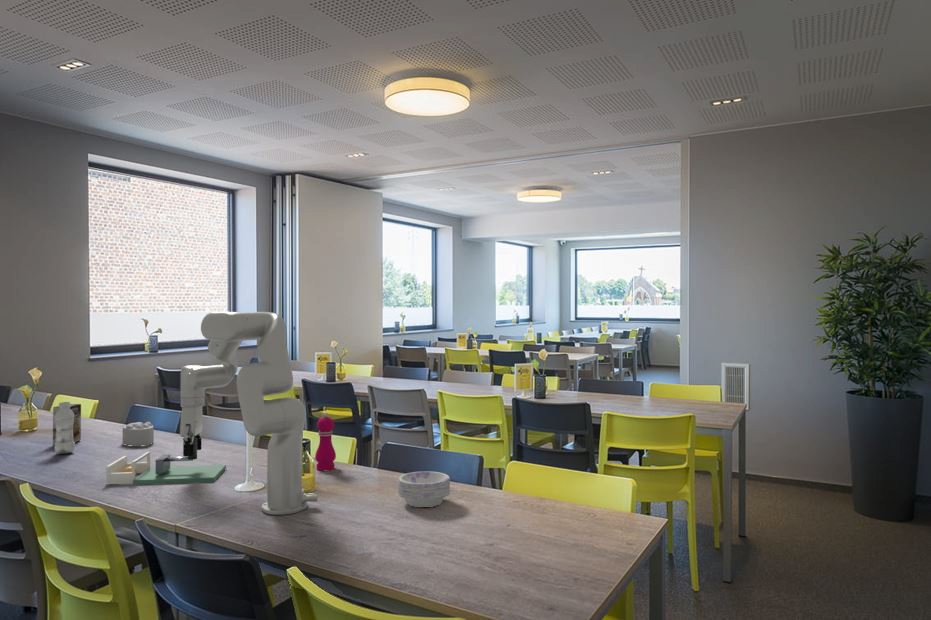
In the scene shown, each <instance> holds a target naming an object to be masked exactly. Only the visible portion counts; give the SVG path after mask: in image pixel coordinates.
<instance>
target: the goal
mask: <svg viewBox="0 0 931 620" xmlns="http://www.w3.org/2000/svg"><path fill="white" fill-rule="evenodd" d="M145 458H146V461H143V462H140V461H142V460H143V459H145ZM129 466H132V472H123V470H124V469H125V468H126V467H129ZM150 468H151V451H147V452H144V453H143V454H142V455H141V456H139V457H138V458H136V459H133V460H132V461H131V462H128V455H123V456H122V457H120V458H118V459H116V460H115V461H113V462H112V463H110V464H108V465H106V467H105V485H107V486H110V485H109V484H119V485H133V480H134V479H135V478H136V475H135V469H136V473H140V474H143V473H144V472H145V471H147V470H148V469H150Z"/></svg>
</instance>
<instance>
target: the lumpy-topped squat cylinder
mask: <svg viewBox="0 0 931 620" xmlns="http://www.w3.org/2000/svg"><path fill="white" fill-rule="evenodd" d="M154 429H155V427H154V425H153V424H152V422H151V421H146V422H145V423H143V422H142V421H137V422H131V423H128V424H127V425H125V426H123V427H122V445H123V444H126V445H132V446H141V445H148V444H151V443H153V442H154V441H155V440H154V439H155V438H154V437H155V436H154V433H155V432H154V431H155V430H154ZM154 443H155V442H154ZM154 443H153V444H154ZM141 447H142V446H141Z"/></svg>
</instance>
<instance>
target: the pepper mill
mask: <svg viewBox="0 0 931 620" xmlns="http://www.w3.org/2000/svg"><path fill="white" fill-rule="evenodd" d="M316 428H317V429H318V430H319V431H318V436H319V442H318V443H319V444H318V447H317V449H316V451H315V458H314V459H315V461H316V462H317V463H316V470H317V471H319V470H320V472H322V471H321V470H329V471H332V469H333V470H334V469H335V463H334V461H335V460H336V459H337V458H336V457H337V454H336V450H335V447H334V445H333V443H332V436H333V435H334V433H333V432H334V431H333V429H334V428H335V422H334V420H333V419H332V418H331V417H329V414H328V413H327V412H324V413H323V414H322V417H321V418H318V421H317V423H316Z"/></svg>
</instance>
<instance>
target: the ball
mask: <svg viewBox="0 0 931 620" xmlns="http://www.w3.org/2000/svg"><path fill="white" fill-rule="evenodd" d="M123 472H132V466H129V467H126V468H125V469H124V470H123ZM135 476H136V469H135Z"/></svg>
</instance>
